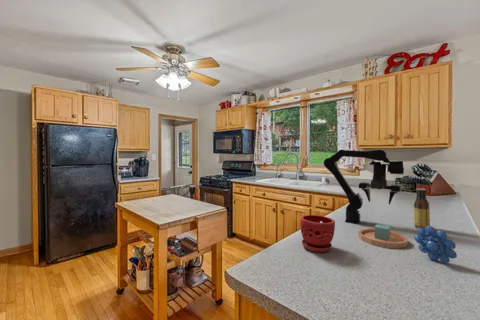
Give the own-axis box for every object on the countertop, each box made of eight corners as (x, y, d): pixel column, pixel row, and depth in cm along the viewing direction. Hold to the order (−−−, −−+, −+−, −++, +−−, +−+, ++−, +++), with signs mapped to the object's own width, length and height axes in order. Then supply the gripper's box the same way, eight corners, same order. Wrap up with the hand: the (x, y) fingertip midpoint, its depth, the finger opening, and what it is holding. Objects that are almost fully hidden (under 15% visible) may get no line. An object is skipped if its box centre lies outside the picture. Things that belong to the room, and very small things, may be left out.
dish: (354, 240, 98) (354, 236, 98) (363, 230, 112) (363, 226, 112) (405, 252, 87) (405, 246, 87) (408, 238, 100) (408, 234, 100)
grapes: (410, 257, 82) (410, 225, 82) (416, 252, 86) (416, 221, 86) (453, 271, 73) (454, 234, 72) (458, 264, 77) (458, 229, 76)
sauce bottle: (424, 226, 118) (424, 188, 117) (433, 230, 111) (433, 190, 111) (410, 225, 118) (411, 188, 118) (418, 229, 112) (419, 190, 112)
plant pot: (329, 257, 82) (329, 225, 82) (295, 248, 90) (295, 219, 90) (338, 246, 93) (338, 217, 93) (307, 239, 101) (307, 212, 101)
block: (374, 238, 99) (374, 226, 99) (376, 235, 103) (376, 224, 103) (388, 240, 96) (388, 229, 96) (389, 237, 100) (389, 226, 100)
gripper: (355, 173, 119) (355, 202, 120) (398, 175, 107) (397, 208, 107) (361, 172, 128) (361, 199, 128) (402, 174, 115) (401, 204, 115)
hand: (379, 202), depth 119 cm, fingers open, 9 cm apart
